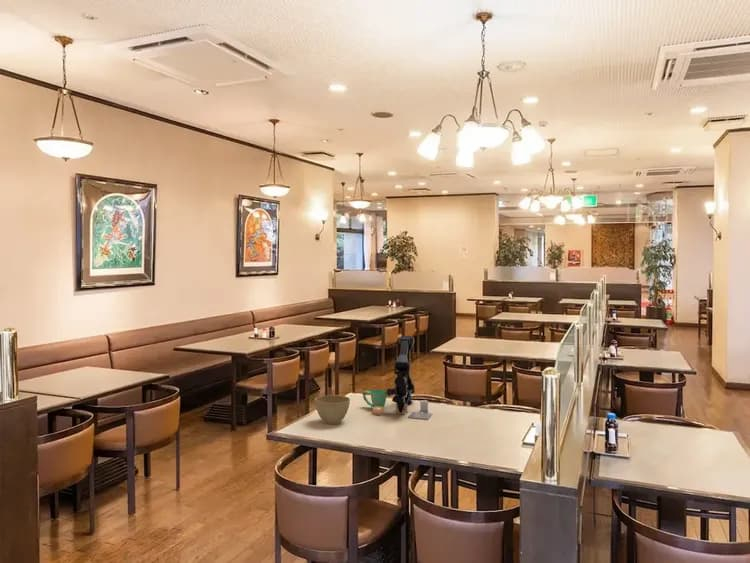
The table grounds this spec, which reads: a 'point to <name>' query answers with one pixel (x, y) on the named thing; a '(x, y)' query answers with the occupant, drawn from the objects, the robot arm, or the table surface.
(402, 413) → the walnut block
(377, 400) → the mug
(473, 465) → the table surface
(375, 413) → the peach egg shape
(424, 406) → the light wood block
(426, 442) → the table surface
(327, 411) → the flower pot
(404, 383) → the robot arm
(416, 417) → the slate coaster
